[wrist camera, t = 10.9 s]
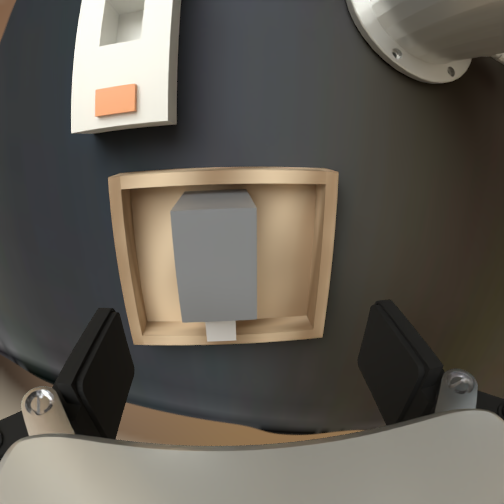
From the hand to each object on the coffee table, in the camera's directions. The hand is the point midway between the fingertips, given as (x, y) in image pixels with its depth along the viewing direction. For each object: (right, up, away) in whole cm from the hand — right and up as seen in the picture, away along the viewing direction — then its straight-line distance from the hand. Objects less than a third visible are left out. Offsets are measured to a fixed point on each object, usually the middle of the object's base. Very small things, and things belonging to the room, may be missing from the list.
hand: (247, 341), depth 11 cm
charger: (-2, -2, +9) cm, 9 cm away
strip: (-8, +21, +4) cm, 23 cm away
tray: (-2, +3, +11) cm, 12 cm away
